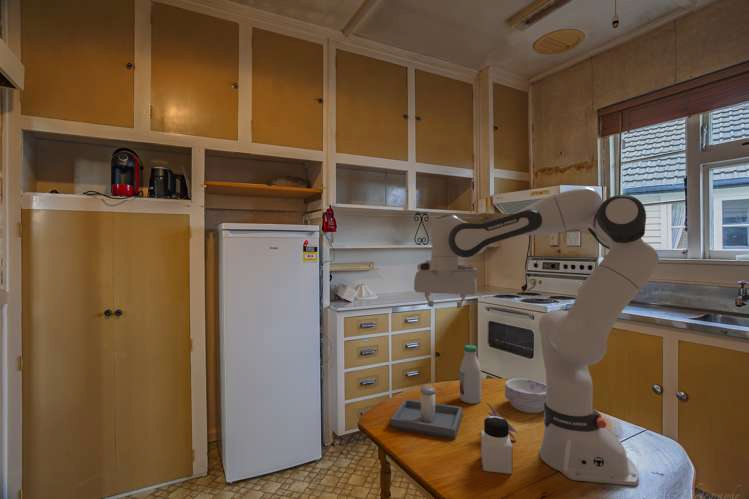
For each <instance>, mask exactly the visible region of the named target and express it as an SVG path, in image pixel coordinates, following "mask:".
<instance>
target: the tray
mask: <svg viewBox="0 0 749 499" xmlns="http://www.w3.org/2000/svg"><path fill="white" fill-rule="evenodd" d="M462 419H463V407H461V406H455V405H449V404H441V403H436V402H435V421H434V422H431V423H427V422H423V421H422V420H421V400H414V399H407V398H404V400H403V401H402V402H401V403H400V405H399V407H398V408H397V409H396V411H395V412H394V414H393V415H392V416H391V418H390V429H391V430H393V429H394V430H397V431H398V430H399V431H404V432H410V433H416V434H421V435H427V436H433V437H438V438H444V439H450V440H454V441H456V439H457V435H458V432H459V429H460V424H461V422H462Z"/></svg>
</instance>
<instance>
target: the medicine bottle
mask: <svg viewBox="0 0 749 499" xmlns="http://www.w3.org/2000/svg"><path fill="white" fill-rule="evenodd" d="M483 421H484V422H483V424H484V425H483V430H481V431H480V448H481V449H480V457H481V465H482V470H483V471H484V472H489V473H497V474H498V473H501V474H506V475H507V474H509V475H512V474H513V444H512V441H511V438H510V437H511V436H510V434H509V433H508V424H509V422H508V421H507V420H506V418H504V417H502V416H501V417H497V416H490V415H489V416H487V417H486V418H485V419H484V420H483Z"/></svg>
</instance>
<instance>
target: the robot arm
mask: <svg viewBox="0 0 749 499" xmlns="http://www.w3.org/2000/svg"><path fill="white" fill-rule="evenodd" d="M646 222H647V212H646V209H645V206H644V205H643V203H642V201H641V200H639V199H638V198H637V197H634V196H633V195H630V194H618V195H617V194H616V195H613V196H611V197H608V198H606V199H605V200H603V199H602V196H601V195H600V194H599V193H598V191H597V190H595V189H594V188H592V187H580V188H575V189H570V190H566V191H563V192H562V191H561V192H558V193H554V194H552V195H549V196H546V197H544V198H541V199H539V200H537V201H535V202H533V203H530V204H529V205H528V206H525V207H523V208H522V209H521V210H518V211H516V212H515V213H512V214H510V215H506V216H503V217H500V218H496V219H493V220H490V221H486V222H483V223H472V222H471V223H470V222H467V221H465V220H464V219H461V218H459V217H458V216H457V215H454V214H449V215H448V214H445V215H443V216H442V215H441V216H439V217H436V218H435V219H434V220H433V222H432V226H431V237H430V239H431V240H430V243H431V248H432V252H431V256H430V257H431V258H430V260H426V261H424V262H420V263H418V264H417V267H416V268H417V272H416V273H415V276H414V281H413V290H414V292H415V293H420V294H421V293H423V294H424V297H425V299H426V301H427V306H428V307H431V308H432V307H434V300H432V299H431V298H430V295H431V294H443V295H444V294H446V295H448V294H449V295H460V296H459V297H460V298H461V299H460V301H457V302H456V308H457V309H462V308H463V302H464V300H465V299H466V295H469V296H472V295H475V294H476V293H477V292H478V288H477V279H478V274H479V272H478V269H477V268H476V267H475V266H473V265H470V264H469V265H460V264H459V258H460V257H461V258H470V257H473V256H477V255H480V254H481V253H483V252H484V251H485V250H486V249H487V248H488V246H489V245H491V244H495V243H498V242H500V241H501V242H502V241H505V240H508V239H511V238H515V237H521V236H548V235H549V236H550V235H555V234H558V233H562V232H565V231H569V230H573V229H576V228H580V227H582V228H583V227H584V228H585V227H586V228H587V231H588V232H589V233H590V234H591V235H592V237H593V238H594V239H595V240H596V241H597V242H598V243H599V245H601V246H602V247H604V248H605V249H606V250H607V249H608V251H607V254H606V255H605V257H604V258H603V259H602V260H601V261H600V263H598V265H597V266H596V267H595V268H594V269H593V271H592V272H591V273H590V274H589V275H588V277H586V279H585V280H584V281H583V282H582V283H581V285H580V286H579V287H578V289H577V294H576V298H575V300H574V302H573V304H572V306H571V308H570V309H569V311H568V310H564V309H562V310H561V309H557V310H556V309H553V310H550V311H546V313H544V314H543V315H542V316H541V317H540V319H539V321H538V330H539V335H540V340H541V341H540V343H541V351H542V358H543V363H544V370H545V384H546V402H545V403H544V409H543V422H544V423H543V424H544V430H543V431H544V432H543V438H542V442H541V446H540V449H539V451H538V452H539V457H540V458H541V460H542V461H543V462H544V463H545V464H546V465H548V466H550V467H551V468H553V469H554V470H556V471H557V472H558V471H559V472H560V473H562V474H563V475H564V476H565V477H567V478H568V479H570V480H572V481H578V482H579V481H580V482H590V483H600V484H614V485H621V486H622V485H624V486H635V487H636V486H637V485H639V482H640V476H639V472H638V469H637V467H636V465H635V463H634V462H633V461H632V460H631V459H630V458H629V456H627V452H626V449H625V447H624V445H623V444H622V442H621V440H619V438H618V437H616V436H615V435H614V434H613V433H612V432H610V431H609V430H607V429H606V427H607V422H606V419H604V418H603V417H602V414H600V413H599V411H598V410H597V409H596V408H593V395H594V394H593V392H594V390H593V379H592V376H591V373H590V371H589V370H590V369H589V367H588V366H592V365H595V364H597V363H599V362H600V361H602V359H604V357H605V355H606V353H607V350H608V338H609V336H610V334H611V331H612V330H613V327H614V326H615V325H614V324H615V323H616V321H617V320H618V318H619V316H620V315H621V313H622V312H623V310H625V309H626V307H627V306H628V305H629V304H630V302H632V300H633V299H634V298H635V297H636V295H637V294H638V293H639V292H640V291H641V290H642V288H643V287H644V286H645V285H646V284H647V282H648V281H649V279H650V278H651V277H652V275H653V273H654V271H655V269H656V268H657V265H658V264H659V259H660V258H659V254H658V252H657V250H656V249H655V248H654V247H653V246H651V244H649V243H647V242H645V241H644V240H643V239H642V237H644V236H645V233H646V225H647V224H646Z"/></svg>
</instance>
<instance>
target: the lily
mask: <svg viewBox="0 0 749 499" xmlns="http://www.w3.org/2000/svg"><path fill="white" fill-rule="evenodd" d="M484 402H485V403H486V404H487V406H488V407H489V408H490V410H491V412H492V413H491V412H488V413H487V414H488V415H489V417H490V416H497V417H501V418H502V416H501V415H500V414H499V413H497V412H496V410H495V409H494V408H493V407H492V406H491V404H489V402H487V401H484ZM512 432H513V433H514V434H515V433H516V434H518V431H517V430H516V429H515V428H514V427H513V426H512V425H511V424H510V423H508V434H509V436H510V437H511V438H513V440H514V441H515V442H517V440H516V438H515V437H514V434H512Z"/></svg>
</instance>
